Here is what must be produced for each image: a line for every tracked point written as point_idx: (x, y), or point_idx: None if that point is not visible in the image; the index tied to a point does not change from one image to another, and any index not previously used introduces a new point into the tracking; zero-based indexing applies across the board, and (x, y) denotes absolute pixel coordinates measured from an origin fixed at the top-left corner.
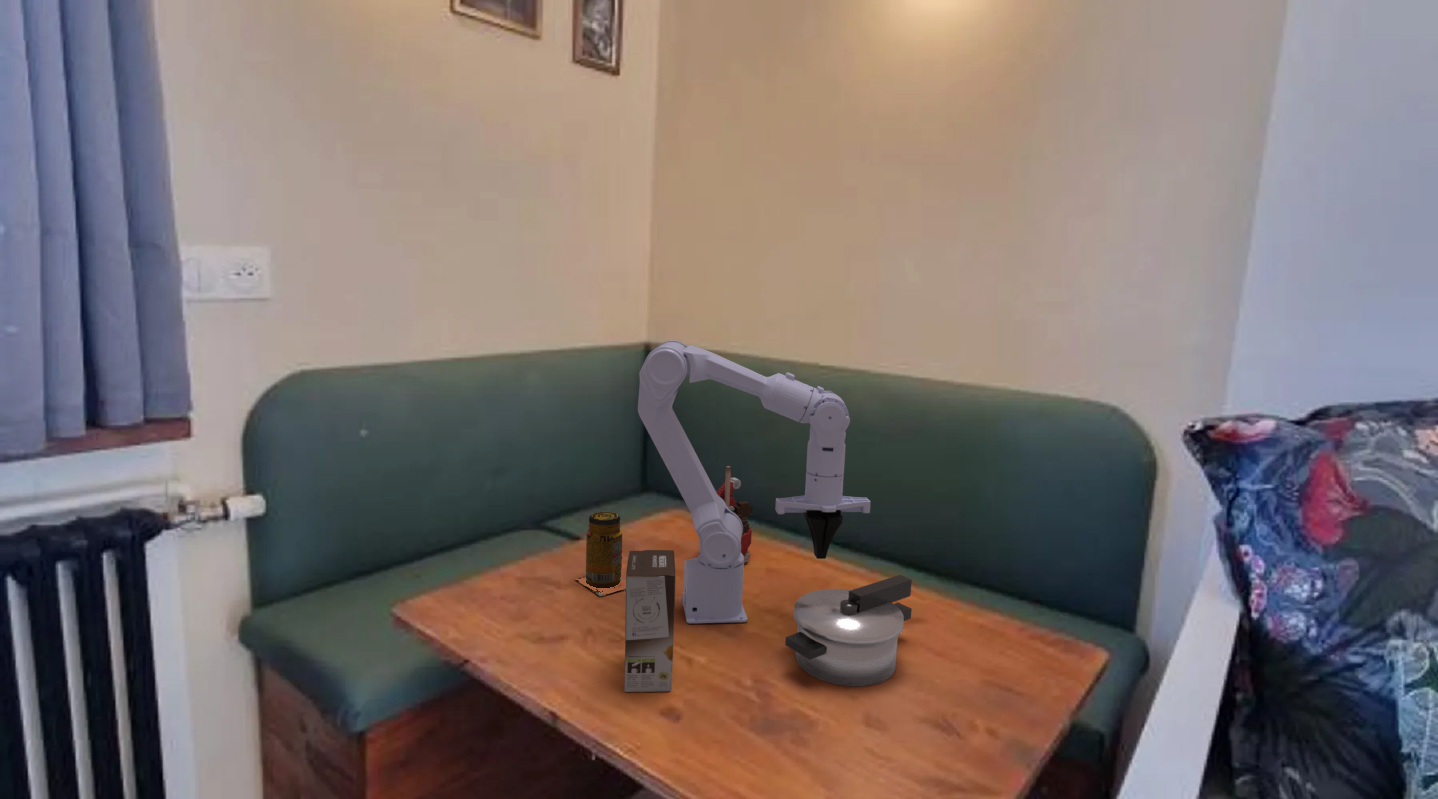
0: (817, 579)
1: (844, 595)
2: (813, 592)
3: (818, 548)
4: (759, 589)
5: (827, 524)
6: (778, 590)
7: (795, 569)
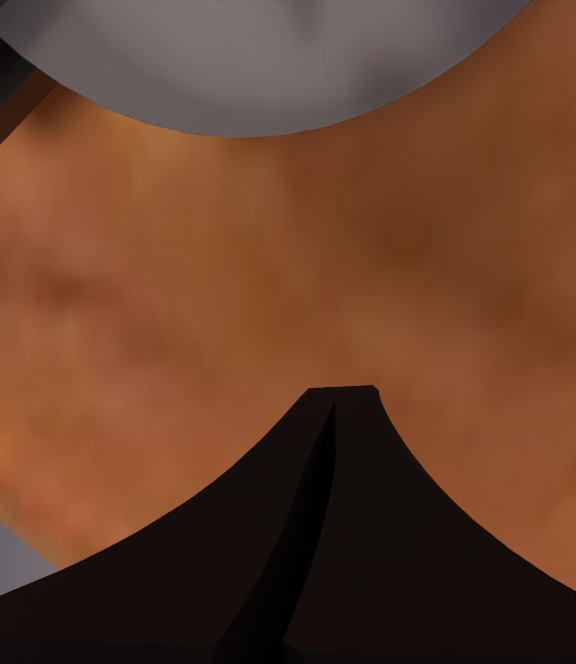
0: None
1: (222, 10)
2: (453, 49)
3: (377, 417)
4: (551, 524)
5: (248, 608)
6: (471, 513)
7: None
